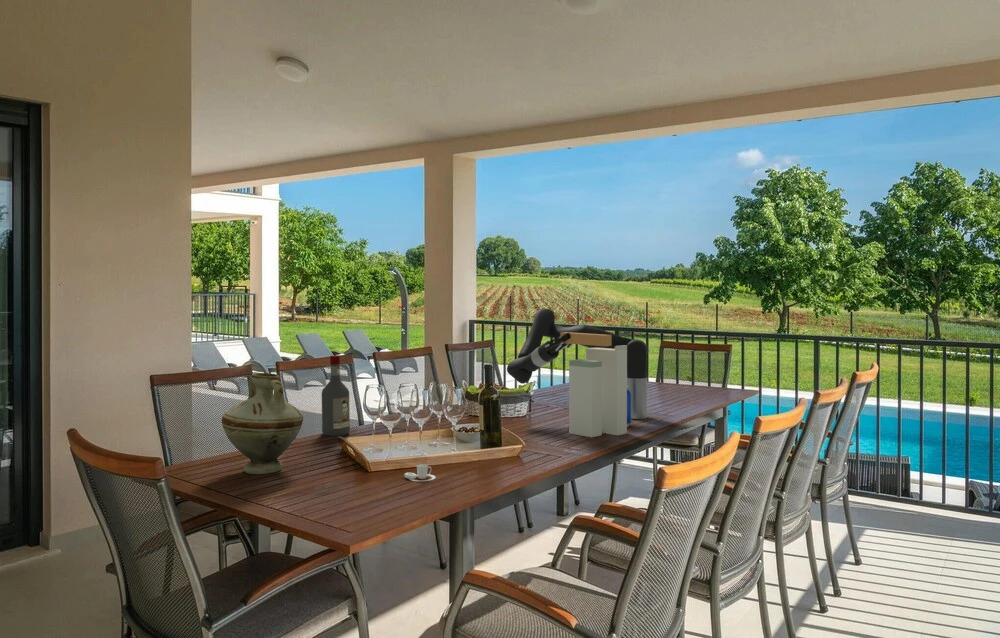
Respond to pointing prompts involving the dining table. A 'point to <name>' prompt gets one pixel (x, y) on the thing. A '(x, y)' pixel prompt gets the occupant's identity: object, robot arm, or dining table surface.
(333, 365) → the liquor
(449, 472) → the dining table surface
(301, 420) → the amphora
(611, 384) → the white post
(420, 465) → the teacup and saucer
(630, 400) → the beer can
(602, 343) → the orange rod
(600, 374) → the green-topped post
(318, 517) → the dining table surface
